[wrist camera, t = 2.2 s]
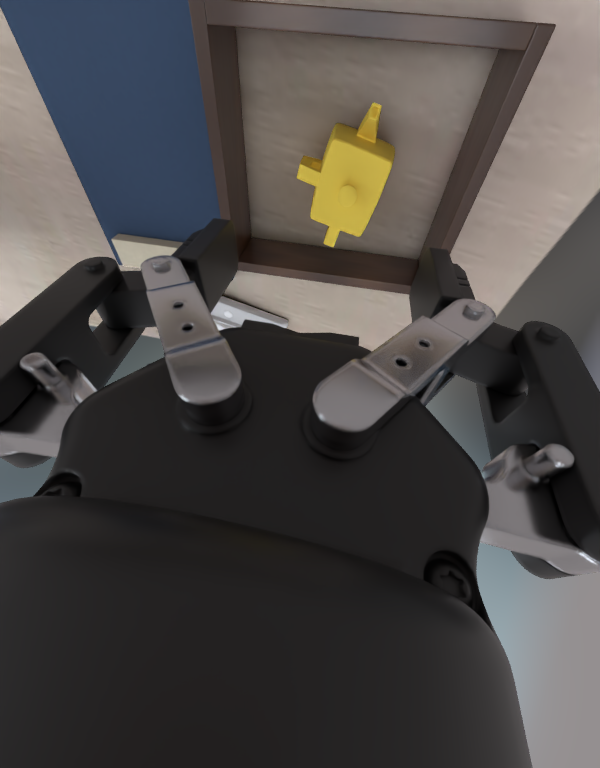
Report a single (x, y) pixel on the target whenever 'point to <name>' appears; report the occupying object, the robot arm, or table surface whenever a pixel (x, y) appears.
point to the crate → (231, 9)
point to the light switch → (241, 314)
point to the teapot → (348, 176)
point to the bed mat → (125, 113)
